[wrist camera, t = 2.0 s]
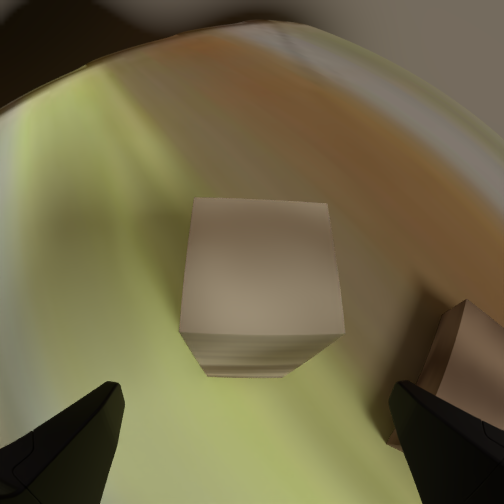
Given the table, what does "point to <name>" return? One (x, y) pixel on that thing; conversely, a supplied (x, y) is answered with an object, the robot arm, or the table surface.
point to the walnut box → (466, 365)
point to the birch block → (259, 286)
